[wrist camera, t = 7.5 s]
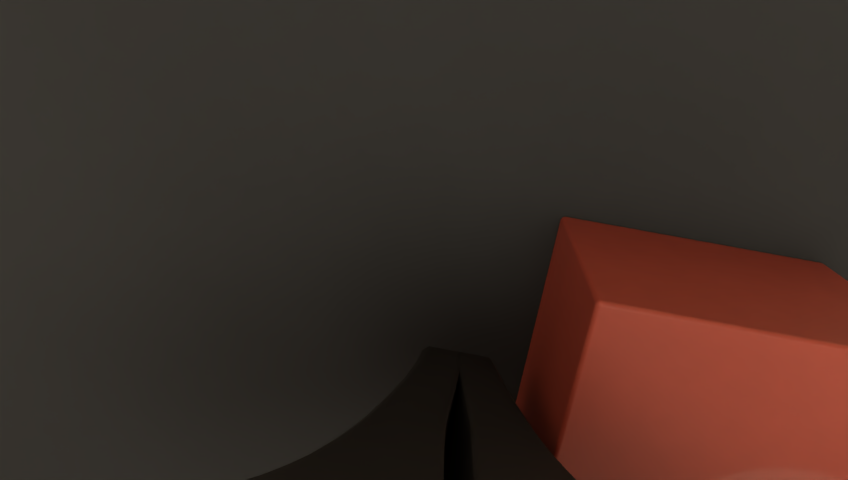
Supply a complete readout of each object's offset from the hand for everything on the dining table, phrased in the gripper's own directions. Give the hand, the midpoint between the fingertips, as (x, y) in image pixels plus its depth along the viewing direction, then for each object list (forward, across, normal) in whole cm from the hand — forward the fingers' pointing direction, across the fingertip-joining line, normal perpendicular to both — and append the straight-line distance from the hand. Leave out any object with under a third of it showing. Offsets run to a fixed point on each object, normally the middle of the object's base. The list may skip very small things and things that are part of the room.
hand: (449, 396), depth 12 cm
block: (+1, -4, 0) cm, 4 cm away
